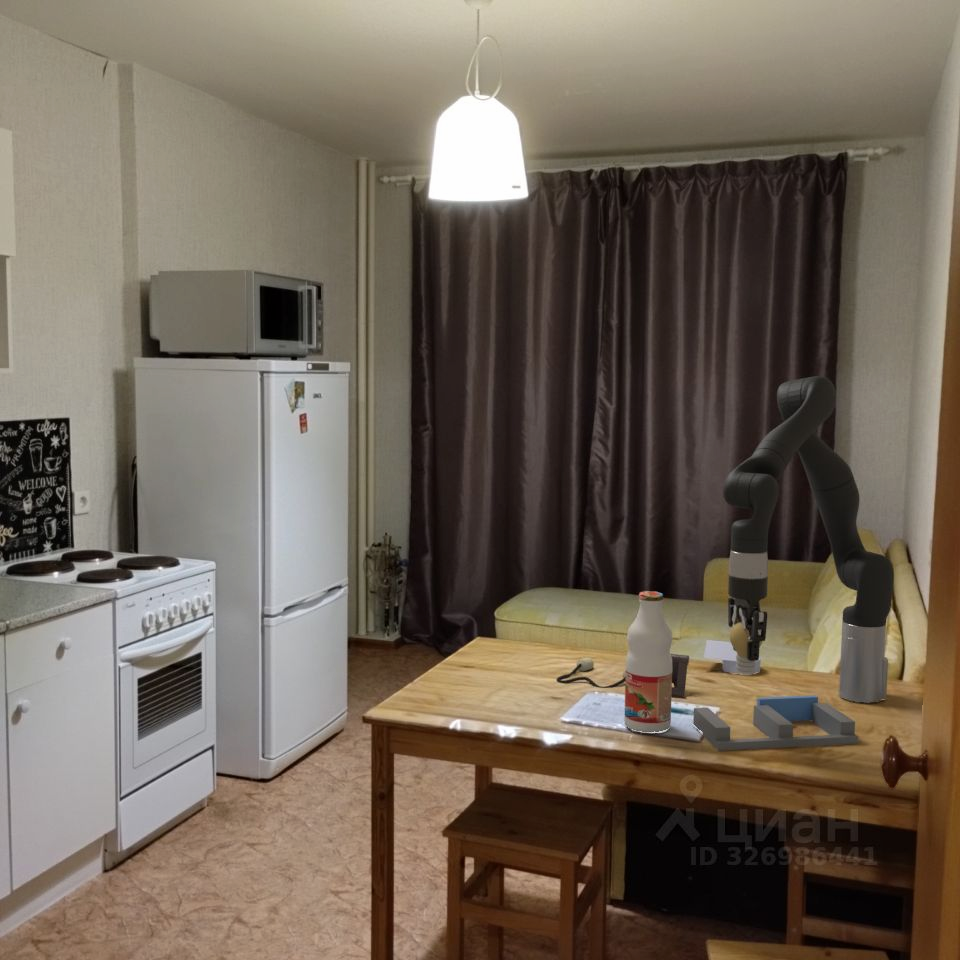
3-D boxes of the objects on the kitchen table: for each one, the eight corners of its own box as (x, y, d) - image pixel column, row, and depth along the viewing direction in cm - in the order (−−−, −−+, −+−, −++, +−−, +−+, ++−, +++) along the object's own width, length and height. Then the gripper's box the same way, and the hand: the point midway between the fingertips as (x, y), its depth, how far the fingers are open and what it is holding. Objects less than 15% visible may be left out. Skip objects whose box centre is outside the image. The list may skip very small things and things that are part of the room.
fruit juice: (678, 733, 212) (682, 597, 209) (634, 736, 210) (638, 599, 207) (659, 718, 221) (662, 587, 218) (617, 721, 219) (620, 589, 216)
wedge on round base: (702, 671, 256) (757, 677, 251) (703, 644, 256) (758, 650, 251) (709, 661, 265) (762, 667, 260) (710, 635, 264) (763, 641, 259)
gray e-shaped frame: (821, 718, 222) (822, 695, 222) (857, 743, 207) (859, 719, 207) (690, 723, 218) (690, 700, 217) (717, 750, 203) (718, 725, 202)
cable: (609, 696, 237) (609, 681, 237) (549, 682, 247) (549, 668, 247) (643, 680, 249) (643, 666, 249) (585, 668, 259) (585, 654, 259)
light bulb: (762, 676, 206) (764, 626, 205) (729, 674, 207) (730, 625, 206) (760, 667, 212) (762, 618, 211) (728, 665, 214) (729, 617, 212)
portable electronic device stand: (644, 694, 238) (645, 658, 237) (650, 684, 245) (651, 649, 244) (683, 698, 235) (684, 662, 234) (688, 688, 242) (690, 653, 241)
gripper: (782, 580, 201) (779, 664, 203) (751, 565, 215) (748, 645, 217) (744, 581, 200) (742, 666, 202) (716, 566, 214) (714, 646, 216)
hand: (745, 655), depth 209 cm, fingers closed on light bulb, 6 cm apart
